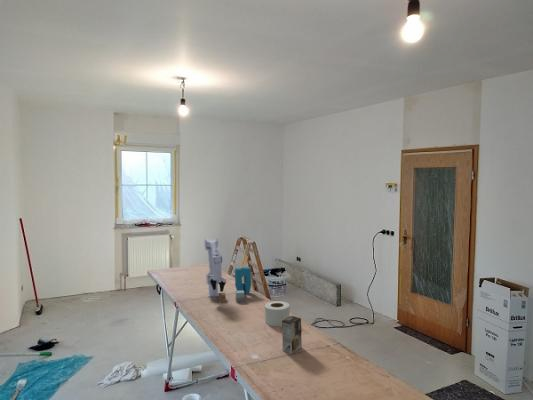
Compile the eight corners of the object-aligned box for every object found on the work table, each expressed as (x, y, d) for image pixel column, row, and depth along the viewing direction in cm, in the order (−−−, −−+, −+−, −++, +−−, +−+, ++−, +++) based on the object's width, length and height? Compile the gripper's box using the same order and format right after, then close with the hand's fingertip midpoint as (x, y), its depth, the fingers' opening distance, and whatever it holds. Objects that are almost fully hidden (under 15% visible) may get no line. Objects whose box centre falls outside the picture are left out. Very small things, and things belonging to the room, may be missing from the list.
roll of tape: (287, 327, 234) (287, 309, 233) (262, 325, 237) (262, 308, 236) (291, 317, 249) (291, 301, 248) (267, 316, 252) (267, 300, 252)
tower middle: (235, 295, 289) (235, 290, 288) (243, 294, 289) (243, 290, 289) (236, 297, 283) (236, 293, 282) (244, 297, 284) (244, 292, 283)
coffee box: (292, 344, 209) (291, 315, 208) (302, 347, 205) (301, 317, 204) (282, 350, 202) (281, 320, 201) (292, 354, 198) (291, 323, 197)
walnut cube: (218, 299, 290) (218, 293, 290) (225, 299, 291) (225, 292, 291) (218, 301, 285) (218, 295, 285) (225, 301, 286) (225, 294, 286)
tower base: (235, 300, 289) (235, 295, 289) (243, 299, 290) (243, 294, 289) (236, 302, 283) (236, 297, 283) (244, 301, 284) (244, 297, 284)
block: (249, 291, 309) (248, 266, 308) (251, 293, 304) (251, 268, 303) (235, 293, 304) (234, 268, 303) (237, 295, 300) (236, 269, 298)
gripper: (206, 271, 281) (207, 290, 282) (220, 274, 272) (221, 293, 273) (213, 269, 286) (214, 287, 287) (227, 272, 277) (228, 291, 278)
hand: (218, 290), depth 280 cm, fingers open, 7 cm apart
